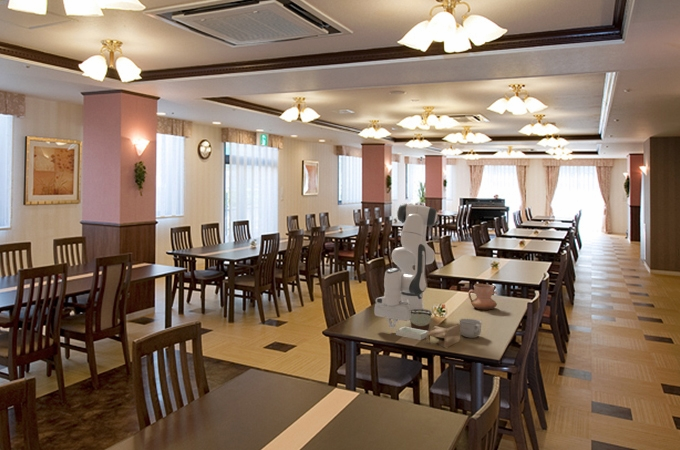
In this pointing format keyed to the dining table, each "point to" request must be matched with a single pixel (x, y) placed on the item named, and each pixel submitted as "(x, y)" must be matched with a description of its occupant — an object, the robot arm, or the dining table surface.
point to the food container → (420, 319)
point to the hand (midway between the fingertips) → (392, 326)
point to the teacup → (470, 327)
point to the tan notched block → (446, 335)
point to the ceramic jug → (483, 297)
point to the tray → (412, 333)
